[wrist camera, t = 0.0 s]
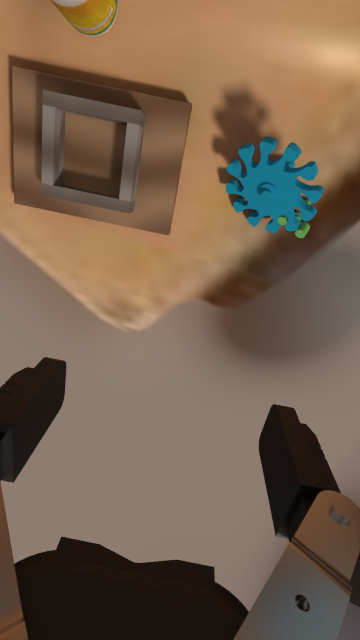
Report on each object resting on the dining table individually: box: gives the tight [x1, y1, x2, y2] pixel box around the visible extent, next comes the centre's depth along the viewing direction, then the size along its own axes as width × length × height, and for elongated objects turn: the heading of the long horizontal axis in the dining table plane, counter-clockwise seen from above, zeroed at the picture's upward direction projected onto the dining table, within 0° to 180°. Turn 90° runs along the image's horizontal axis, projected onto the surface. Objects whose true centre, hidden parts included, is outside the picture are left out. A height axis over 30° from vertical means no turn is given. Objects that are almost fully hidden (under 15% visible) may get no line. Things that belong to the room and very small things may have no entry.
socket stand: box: [12, 66, 192, 235], centre depth 34 cm, size 13×18×4 cm
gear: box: [226, 137, 324, 238], centre depth 34 cm, size 11×6×10 cm
